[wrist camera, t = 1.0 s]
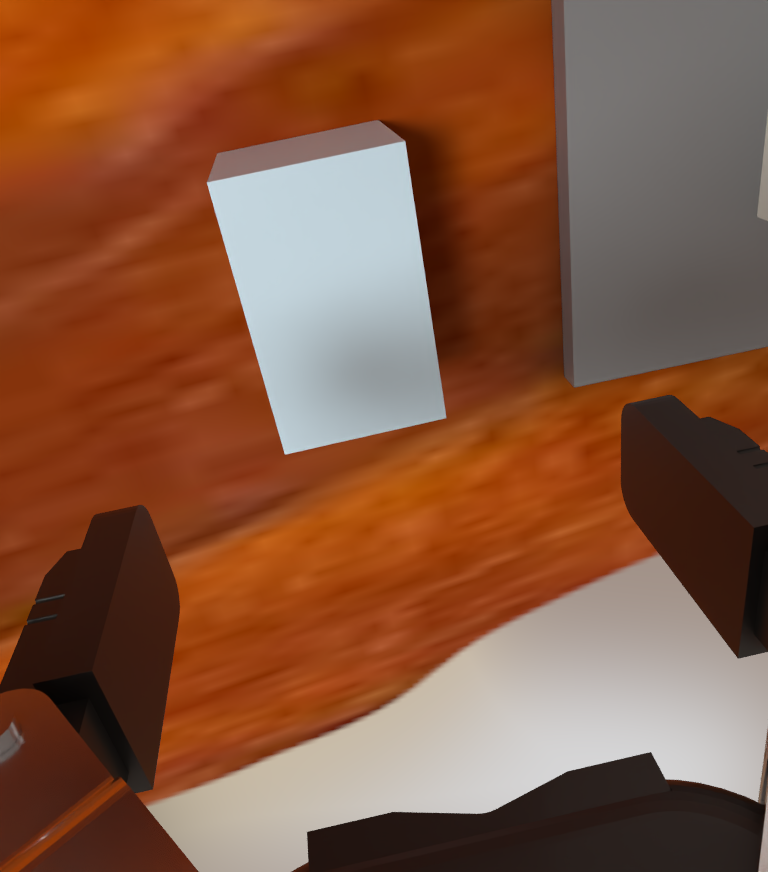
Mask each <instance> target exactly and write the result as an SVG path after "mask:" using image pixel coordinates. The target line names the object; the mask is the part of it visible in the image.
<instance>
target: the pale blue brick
mask: <svg viewBox="0 0 768 872" xmlns="http://www.w3.org/2000/svg"><path fill="white" fill-rule="evenodd" d="M207 185H208V188H209V192H210V195H211V199H212V202H213V205H214V209H215V212H216V216H217V219H218V223H219V226H220V230H221V233H222V237H223V240H224V244H225V247H226V251H227V254H228V258H229V261H230V265H231V268H232V272H233V275H234V279H235V282H236V286H237V289H238V293H239V296H240V300H241V303H242V306H243V310H244V313H245V317H246V320H247V324H248V327H249V331H250V334H251V338H252V341H253V345H254V348H255V352H256V355H257V359H258V362H259V366H260V369H261V373H262V376H263V380H264V383H265V387H266V390H267V394H268V397H269V401H270V404H271V407H272V411H273V414H274V418H275V421H276V425H277V428H278V432H279V435H280V439H281V442H282V446H283V449H284V453H285V454H289V453H294V452H298V451H303V450H307V449H311V448H316V447H320V446H325V445H329V444H334V443H338V442H342V441H347V440H351V439H356V438H360V437H365V436H369V435H373V434H378V433H382V432H387V431H391V430H396V429H400V428H404V427H409V426H413V425H418V424H422V423H427V422H431V421H435V420H440V419H444V418H446V412H445V406H444V399H443V392H442V385H441V379H440V372H439V365H438V358H437V352H436V345H435V338H434V332H433V325H432V318H431V311H430V305H429V298H428V291H427V285H426V278H425V271H424V264H423V258H422V251H421V244H420V237H419V231H418V224H417V217H416V211H415V204H414V197H413V190H412V184H411V177H410V170H409V164H408V157H407V150H406V143H405V141H404V140H403V139H402V138H401V137H399V136H398V135H397V134H396V133H394V132H393V131H392V130H390V129H389V128H388V127H387V126H385V125H384V124H383V123H381V122H380V121H379V120H376V121H371V122H366V123H361V124H356V125H352V126H347V127H342V128H337V129H332V130H328V131H323V132H318V133H313V134H308V135H304V136H299V137H294V138H289V139H284V140H280V141H275V142H270V143H265V144H260V145H256V146H251V147H246V148H241V149H236V150H232V151H227V152H222V153H217V156H216V159H215V162H214V165H213V167H212V170H211V173H210V176H209V178H208V181H207Z"/></svg>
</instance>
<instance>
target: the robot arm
mask: <svg viewBox="0 0 768 872" xmlns="http://www.w3.org/2000/svg"><path fill="white" fill-rule="evenodd" d="M621 488H622V494H623V498H624V501H625V504H626V507H627V509H628V511H629V513H630V515H631V517H632V518H633V520H634V521H635V522H636V524H637V525H638V526H639V528H640V529H641V530H642V532H643V533H644V534H645V536H646V537H647V538H648V540H649V541H650V542H651V544H652V545H653V546H654V548H655V549H656V550H657V552H658V553H659V554H660V556H661V557H662V558H663V560H664V561H665V562H666V564H667V565H668V566H669V567H670V569H671V570H672V572H673V573H674V574H675V576H676V577H677V578H678V579H679V581H680V582H681V583H682V585H683V586H684V587H685V589H686V590H687V591H688V593H689V594H690V595H691V597H692V598H693V599H694V601H695V602H696V603H697V605H698V606H699V607H700V609H701V610H702V611H703V613H704V614H705V615H706V617H707V618H708V619H709V621H710V622H711V623H712V625H713V626H714V627H715V628H716V630H717V631H718V633H719V634H720V635H721V637H722V638H723V639H724V641H725V642H726V643H727V645H728V646H729V647H730V648H731V650H732V651H733V652H734V654H735V655H736V656H737V658H742V657H747V656H751V655H756V654H760V653H764V652H768V453H767V452H766V451H765V450H760V446H759V445H758V444H756V443H755V442H754V441H753V440H752V439H750V438H749V437H748V436H747V435H746V434H744V433H743V432H742V431H741V430H740V429H738V428H735V427H733V426H730V425H728V424H726V423H723V422H721V421H718V420H716V419H713V418H711V417H706V418H701V419H700V418H699V417H698V416H696V415H695V414H694V413H693V412H692V411H691V410H690V409H689V408H687V407H686V406H685V405H684V404H683V403H682V402H681V401H680V400H678V399H677V398H676V397H675V396H672V395H667V396H662V397H657V398H653V399H648V400H643V401H638V402H634V403H629V404H626V405H625V406H624V408H623V411H622V417H621ZM35 601H36V604H35V605H33V606H32V609H31V611H30V614H29V616H28V619H27V623H28V624H27V625H25V626H24V628H23V631H22V633H21V636H20V638H19V640H18V643H17V645H16V648H15V650H14V653H13V655H12V657H11V660H10V662H9V665H8V667H7V670H6V672H5V674H4V677H3V679H2V682H1V684H0V872H198V870H197V869H196V868H195V867H194V866H193V864H192V863H191V862H190V861H189V860H188V858H187V857H186V856H185V854H184V853H183V852H182V851H181V850H180V848H178V846H177V845H176V843H175V842H174V841H173V840H172V838H171V837H170V836H169V835H168V834H167V833H166V831H165V830H164V829H163V827H162V826H161V825H160V824H159V822H158V821H157V820H156V819H155V818H154V816H153V815H152V814H151V813H150V811H149V810H148V809H147V808H146V806H145V805H144V804H143V803H142V802H141V800H140V799H139V798H138V797H137V795H136V794H135V793H139V792H143V791H148V790H152V789H153V785H154V779H155V772H156V765H157V759H158V752H159V746H160V739H161V733H162V726H163V719H164V713H165V706H166V700H167V693H168V687H169V680H170V673H171V667H172V660H173V654H174V647H175V641H176V634H177V627H178V621H179V613H180V603H179V594H178V588H177V584H176V580H175V577H174V574H173V572H172V569H171V567H170V564H169V562H168V559H167V557H166V554H165V552H164V549H163V547H162V544H161V542H160V539H159V537H158V534H157V532H156V529H155V526H154V524H153V521H152V519H151V517H150V514H149V512H148V511H147V509H146V508H145V507H144V506H143V505H138V506H133V507H128V508H124V509H119V510H114V511H109V512H105V513H100V514H96V515H94V517H93V518H92V520H91V523H90V526H89V529H88V531H87V534H86V537H85V540H84V542H83V545H82V548H81V549H77V550H72V551H68V552H66V553H65V554H64V555H63V557H62V558H61V559H60V560H59V561H58V562H57V563H56V564H55V565H54V566H53V568H52V569H51V570H50V571H49V572H48V573H47V574H46V575H45V577H44V580H43V582H42V585H41V587H40V589H39V592H38V594H37V597H36V599H35ZM307 837H308V838H307V839H308V859H309V862H308V863H306V864H304V865H303V866H301V867H299V868H297V869H296V870H294V871H292V872H768V730H767V738H766V745H765V753H764V761H763V769H762V777H761V784H760V791H759V798H758V802H756V801H754V800H751V799H749V798H747V797H745V796H742V795H739V794H737V793H734V792H731V791H728V790H725V789H722V788H718V787H714V786H710V785H706V784H701V783H696V782H689V781H681V780H665V778H664V776H663V774H662V772H661V770H660V768H659V766H658V765H657V763H656V761H655V759H654V757H653V756H652V753H651V752H650V753H646V754H641V755H637V756H633V757H628V758H624V759H620V760H615V761H611V762H607V763H602V764H598V765H594V766H590V767H585V768H581V769H576V770H572V771H568V772H566V773H564V774H562V775H560V776H559V777H556V778H555V779H553V780H551V781H549V782H547V783H545V784H543V785H541V786H539V787H538V788H536V789H534V790H532V791H530V792H528V793H526V794H524V795H522V796H521V797H519V798H517V799H515V800H513V801H511V802H509V803H507V804H505V805H503V806H502V807H500V808H498V809H496V810H493V811H491V812H488V813H483V814H459V813H458V814H457V813H456V814H455V813H411V812H410V813H409V812H391V813H387V814H383V815H378V816H374V817H370V818H366V819H361V820H357V821H352V822H348V823H344V824H340V825H336V826H331V827H327V828H322V829H318V830H314V831H310V832H307Z"/></svg>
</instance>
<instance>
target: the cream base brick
mask: <svg viewBox="0 0 768 872" xmlns="http://www.w3.org/2000/svg"><path fill="white" fill-rule="evenodd" d="M757 217H759V218H761V219H764V220H767V221H768V114H767V124H766V134H765V144H764V153H763V163H762V173H761V183H760V192H759V202H758V212H757Z"/></svg>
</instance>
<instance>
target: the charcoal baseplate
mask: <svg viewBox="0 0 768 872" xmlns="http://www.w3.org/2000/svg"><path fill="white" fill-rule="evenodd" d="M552 29H553V59H554V88H555V117H556V147H557V176H558V205H559V235H560V264H561V293H562V323H563V352H564V376H565V378H566V379H567V380H568V381H569V382H570V383H571V385H572V386H573V387H579V386H584V385H589V384H593V383H598V382H603V381H608V380H612V379H617V378H622V377H626V376H631V375H636V374H641V373H645V372H650V371H655V370H660V369H664V368H669V367H674V366H679V365H683V364H688V363H693V362H697V361H702V360H707V359H712V358H716V357H721V356H726V355H731V354H735V353H740V352H745V351H750V350H754V349H759V348H764V347H768V221H767V220H764V219H761V218H759V217H757V212H758V202H759V192H760V183H761V173H762V163H763V153H764V144H765V134H766V124H767V114H768V0H552Z"/></svg>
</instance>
